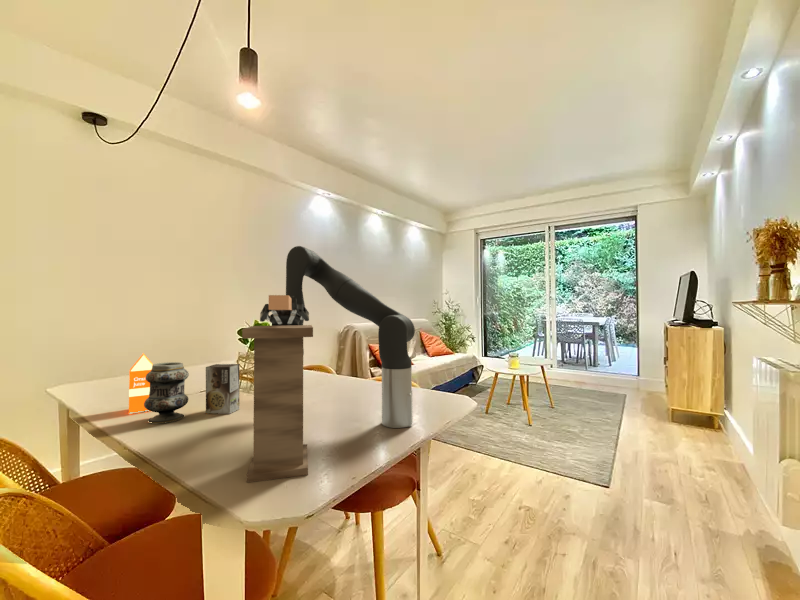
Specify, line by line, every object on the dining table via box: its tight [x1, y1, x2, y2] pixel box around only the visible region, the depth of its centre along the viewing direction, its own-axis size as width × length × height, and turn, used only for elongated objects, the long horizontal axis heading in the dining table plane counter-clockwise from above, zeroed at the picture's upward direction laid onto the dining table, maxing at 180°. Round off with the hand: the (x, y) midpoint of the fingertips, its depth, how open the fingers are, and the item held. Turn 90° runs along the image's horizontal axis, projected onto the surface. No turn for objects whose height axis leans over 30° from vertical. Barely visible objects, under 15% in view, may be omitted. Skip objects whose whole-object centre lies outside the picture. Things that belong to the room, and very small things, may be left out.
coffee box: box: [205, 363, 240, 415], centre depth 124 cm, size 9×6×16 cm
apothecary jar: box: [144, 361, 190, 424], centre depth 116 cm, size 12×12×18 cm
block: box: [268, 294, 292, 310], centre depth 87 cm, size 26×4×3 cm, turn 15°
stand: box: [241, 324, 314, 483], centre depth 82 cm, size 16×14×31 cm
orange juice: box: [128, 352, 154, 414], centre depth 127 cm, size 8×9×20 cm
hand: (283, 299), depth 94 cm, fingers closed on block, 4 cm apart
